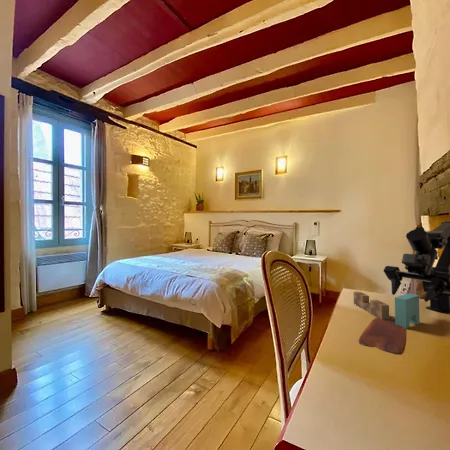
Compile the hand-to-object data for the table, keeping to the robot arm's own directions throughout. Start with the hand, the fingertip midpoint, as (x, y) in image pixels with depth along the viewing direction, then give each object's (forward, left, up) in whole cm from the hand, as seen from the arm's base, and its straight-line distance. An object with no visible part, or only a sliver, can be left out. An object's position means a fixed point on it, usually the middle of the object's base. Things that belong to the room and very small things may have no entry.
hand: (408, 297), depth 81 cm
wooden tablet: (+13, +2, -9) cm, 16 cm away
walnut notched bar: (+1, -13, -8) cm, 16 cm away
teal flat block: (+1, 0, -8) cm, 9 cm away
